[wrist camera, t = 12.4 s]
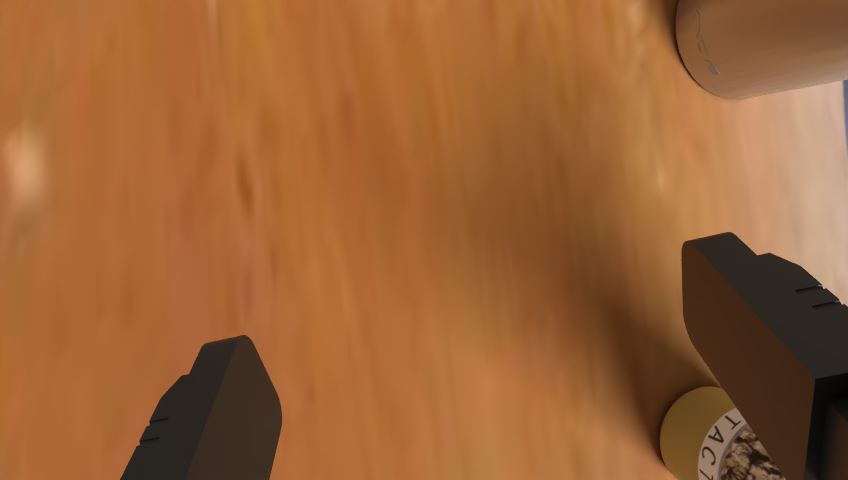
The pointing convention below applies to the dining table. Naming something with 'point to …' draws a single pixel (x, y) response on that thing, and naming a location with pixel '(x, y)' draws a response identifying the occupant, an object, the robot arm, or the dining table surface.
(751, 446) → the paper tube
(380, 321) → the dining table surface
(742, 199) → the dining table surface
